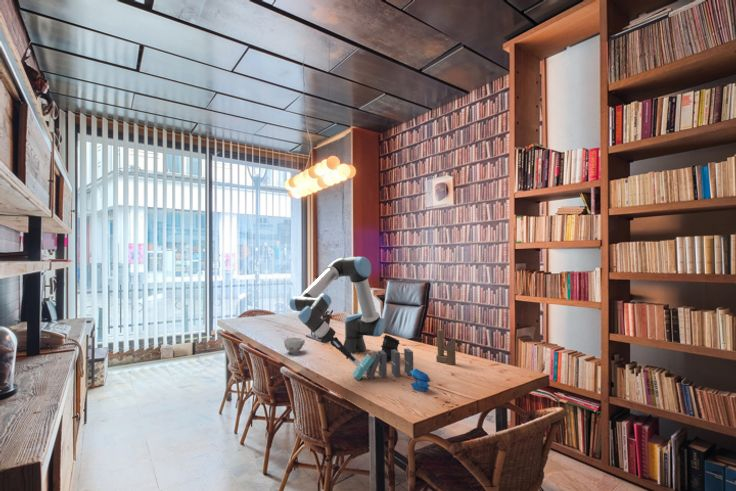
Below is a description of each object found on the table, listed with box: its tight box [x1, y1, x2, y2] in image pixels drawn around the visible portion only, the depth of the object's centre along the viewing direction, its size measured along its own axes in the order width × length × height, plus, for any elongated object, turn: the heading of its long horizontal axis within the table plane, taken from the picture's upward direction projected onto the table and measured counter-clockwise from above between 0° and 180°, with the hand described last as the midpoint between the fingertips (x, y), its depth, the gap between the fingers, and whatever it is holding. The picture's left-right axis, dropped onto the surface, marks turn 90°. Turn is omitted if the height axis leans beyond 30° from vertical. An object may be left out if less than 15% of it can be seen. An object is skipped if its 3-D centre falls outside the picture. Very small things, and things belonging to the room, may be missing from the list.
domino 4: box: [403, 348, 414, 377], centre depth 188 cm, size 2×7×12 cm, turn 13°
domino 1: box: [365, 350, 381, 380], centre depth 184 cm, size 2×7×12 cm, turn 13°
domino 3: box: [390, 349, 401, 378], centre depth 187 cm, size 2×7×12 cm, turn 13°
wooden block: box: [435, 329, 457, 366], centre depth 207 cm, size 4×11×18 cm, turn 43°
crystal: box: [410, 368, 432, 392], centre depth 166 cm, size 7×9×12 cm
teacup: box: [283, 337, 306, 354], centre depth 235 cm, size 15×12×8 cm
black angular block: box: [380, 334, 401, 363], centre depth 213 cm, size 4×13×15 cm, turn 135°
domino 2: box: [377, 349, 388, 379], centre depth 185 cm, size 2×7×12 cm, turn 13°
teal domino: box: [352, 353, 374, 381], centre depth 183 cm, size 2×7×12 cm
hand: (358, 364), depth 182 cm, fingers closed
